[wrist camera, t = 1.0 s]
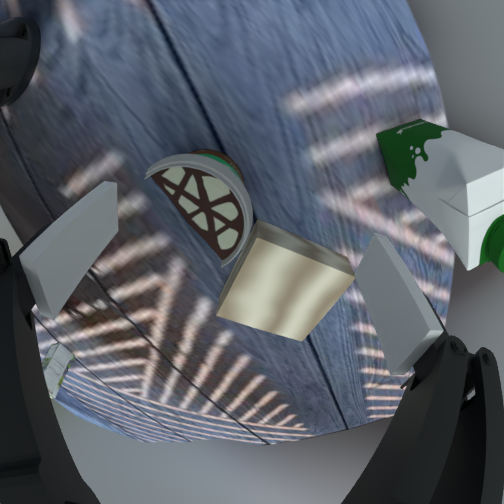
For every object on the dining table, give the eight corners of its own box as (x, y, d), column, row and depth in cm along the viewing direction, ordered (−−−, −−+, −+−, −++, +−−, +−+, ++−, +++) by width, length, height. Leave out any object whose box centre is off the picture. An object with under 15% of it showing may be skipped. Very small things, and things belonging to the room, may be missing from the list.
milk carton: (386, 193, 32) (473, 296, 16) (366, 128, 28) (478, 190, 11) (438, 172, 30) (538, 254, 13) (423, 109, 26) (548, 156, 9)
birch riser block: (220, 292, 43) (216, 315, 38) (257, 217, 35) (257, 237, 31) (299, 318, 45) (301, 341, 41) (346, 255, 38) (355, 277, 34)
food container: (274, 200, 34) (278, 242, 25) (233, 224, 36) (224, 271, 27) (214, 117, 28) (194, 129, 20) (173, 148, 30) (140, 173, 22)
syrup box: (65, 357, 59) (46, 398, 47) (51, 343, 56) (29, 385, 44) (75, 355, 57) (55, 399, 45) (59, 341, 54) (37, 385, 42)
